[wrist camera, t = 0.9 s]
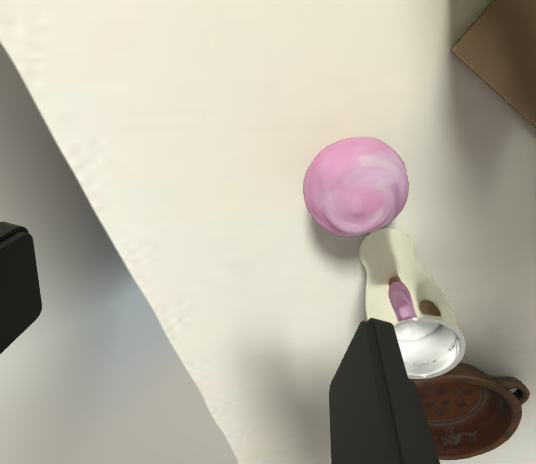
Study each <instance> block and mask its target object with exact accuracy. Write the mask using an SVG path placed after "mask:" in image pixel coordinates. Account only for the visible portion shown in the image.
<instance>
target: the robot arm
mask: <svg viewBox="0 0 536 464" xmlns="http://www.w3.org/2000/svg"><path fill="white" fill-rule="evenodd" d="M41 310H42V303H41V295H40V288H39V280H38V273H37V266H36V259H35V251H34V245H33V238H32V236H31V235H30V234H29V233H28V230H27V229H26V228H24V227H22V226H18V225H14V224H10V223H7V222H0V354H1V353H2V352H3V351H4V350H5V349H6V348H7V347H8V346H9V345H10V344H11V343H12V342H13V341H14V340H15V339H16V338H17V337H18V336H19V335H20V334H21V333H23V332H24V331H25V330H26V329H27V328H28V327H29V326H30V325H31V324H32V323H33V322H34V321H35V320H36V319H37V318H38V316H39V315H40V313H41ZM329 405H330V432H331V458H332V464H440V462H439V459H438V455H437V452H436V449H435V445H434V442H433V439H432V435H431V432H430V429H429V425H428V422H427V419H426V415H425V412H424V408H423V405H422V402H421V398H420V395H419V392H418V389H417V386H416V384H415V382H414V381H413V380H412V379H409V378H408V375H407V372H406V368H405V365H404V361H403V358H402V354H401V350H400V347H399V343H398V340H397V336H396V333H395V329H394V326H393V324H392V323H390V322H386V321H383V320H379V319H375V318H370V319H369V320H368V321H367V322H365V321H362V322H361V323H360V325H359V327H358V329H357V331H356V333H355V335H354V337H353V339H352V341H351V343H350V345H349V347H348V349H347V351H346V353H345V355H344V358H343V360H342V362H341V364H340V366H339V368H338V370H337V372H336V374H335V376H334V378H333V380H332V382H331V385H330V391H329Z"/></svg>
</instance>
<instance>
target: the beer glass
mask: <svg viewBox="0 0 536 464" xmlns="http://www.w3.org/2000/svg"><path fill="white" fill-rule="evenodd" d="M359 256H360V260H361V262H362V264H363V266H364V267H365V269H366V271H367V282H366V295H365V299H366V314H367V320H369V319H370V318H375V319H379V320H383V321H386V322H390V323H392V324H393V326H394V329H395V333H396V336H397V340H398V343H399V347H400V350H401V354H402V358H403V361H404V365H405V368H406V372H407V375H408V378H410V379H427V378H432V377H436V376H439V375H442V374H444V373H446V372H448V371H450V370H451V369H453V368H454V367H455V366H457V365H458V363H459V362H460V361H461V360H462V358H463V356H464V354H465V350H466V343H465V339H464V337H463V335H462V333H461V331H460V328H459V325H458V322H457V320H456V317H455V315H454V312H453V310H452V308H451V306H450V303H449V301H448V299H447V298H446V296H445V294H444V292H443V291H442V289H441V287H440V286H439V285H438V284H437V282H436V281H435V280H434V278H433V277H432V276H431V275H430V274H429V273H428V272H427V270H426V269H425V268H424V267H423V266H422V265H421V264H420V263H419V261H418V260H417V258H416V256H415V248H414V244H413V241H412V239H411V238H410V236H409V235H408V234H406V233H405V232H403V231H402V230H399V229H396V228H381V229H378V230H376V231H373V232H371V233H370V234H369V235H367V236H366V237H365V238H364V240H363V241H362V243H361V245H360V249H359Z"/></svg>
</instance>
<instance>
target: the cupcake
mask: <svg viewBox="0 0 536 464" xmlns="http://www.w3.org/2000/svg"><path fill="white" fill-rule="evenodd" d="M408 190H409V182H408V176H407V172H406V168H405V165H404V162H403V161H402V159H401V158H400V156H399V155H398V154H397V153H396V151H394V150H393V149H392V148H391V147H390V146H389V145H387V144H386V143H384V142H382V141H381V140H379V139H376V138H372V137H353V138H347V139H343V140H340V141H338V142H336V143H333V144H330V145H328V146H326V147H325V148H324V149H323V150H321V151H320V152H319V154H318V155H317V156H316V157H315V159H314V160H313V162H312V163H311V164H310V166H309V168H308V169H307V172H306V174H305V178H304V183H303V194H304V200H305V204H306V207H307V209H308V211H309V213H310V214H311V216H312V218H313V219H314V220H315V221H316V222H317V223H318V224H319V225H320V226H321V227H323V228H324V229H325V230H327V231H328V232H330V233H332V234H334V235H338V236H343V237H355V236H359V235H362V234H366V233H370V232H373V231H376V230H378V229H380V228H382V227H384V226H385V225H387V224H388V223H390V222H391V221H392V220H394V219H395V218H396V217H397V216H398V215H399V213H400V212H401V211H402V209H403V207H404V205H405V203H406V200H407V197H408Z"/></svg>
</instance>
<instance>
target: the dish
mask: <svg viewBox="0 0 536 464" xmlns="http://www.w3.org/2000/svg"><path fill="white" fill-rule="evenodd" d="M409 379H410V378H409ZM412 380H413V381H414V382H415V384H416V386H417V389H418V392H419V395H420V398H421V402H422V405H423V408H424V412H425V415H426V419H427V422H428V425H429V429H430V432H431V435H432V439H433V442H434V445H435V449H436V452H437V455H438V459H439V460H458V459H466V458H470V457H473V456H477V455H481V454H484V453H486V452H489V451H491V450H493V449H495V448H497V447H498V446H500V445H501V444H503V443H504V442H506V441H507V440H508V439H509V438H510V437H511V436H512V435H513V433H514V432H515V431H516V429H517V427H518V425H519V423H520V420H521V416H522V408H521V405H522V404H523V403H524V402H526V401H527V399H528V398H529V395H530V393H529V390H528V389H527V387H526V386H525V385H524V384H523V383H522V382H521V381H519V380H518V379H516V378H513V377H492V376H488V375H486V374H485V373H483V372H482V371H480V370H479V369H477V368H475V367H473V366H471V365H468V364H464V363H460V362H459V363H458V365H457V366H455V367H454V368H453V369H451V370H450V371H448V372H446V373H444V374H442V375H439V376H436V377H432V378H427V379H412ZM512 388H517V390H516V391H515V392H514V393H512V392H511V391H509V390H510V389H512Z"/></svg>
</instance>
